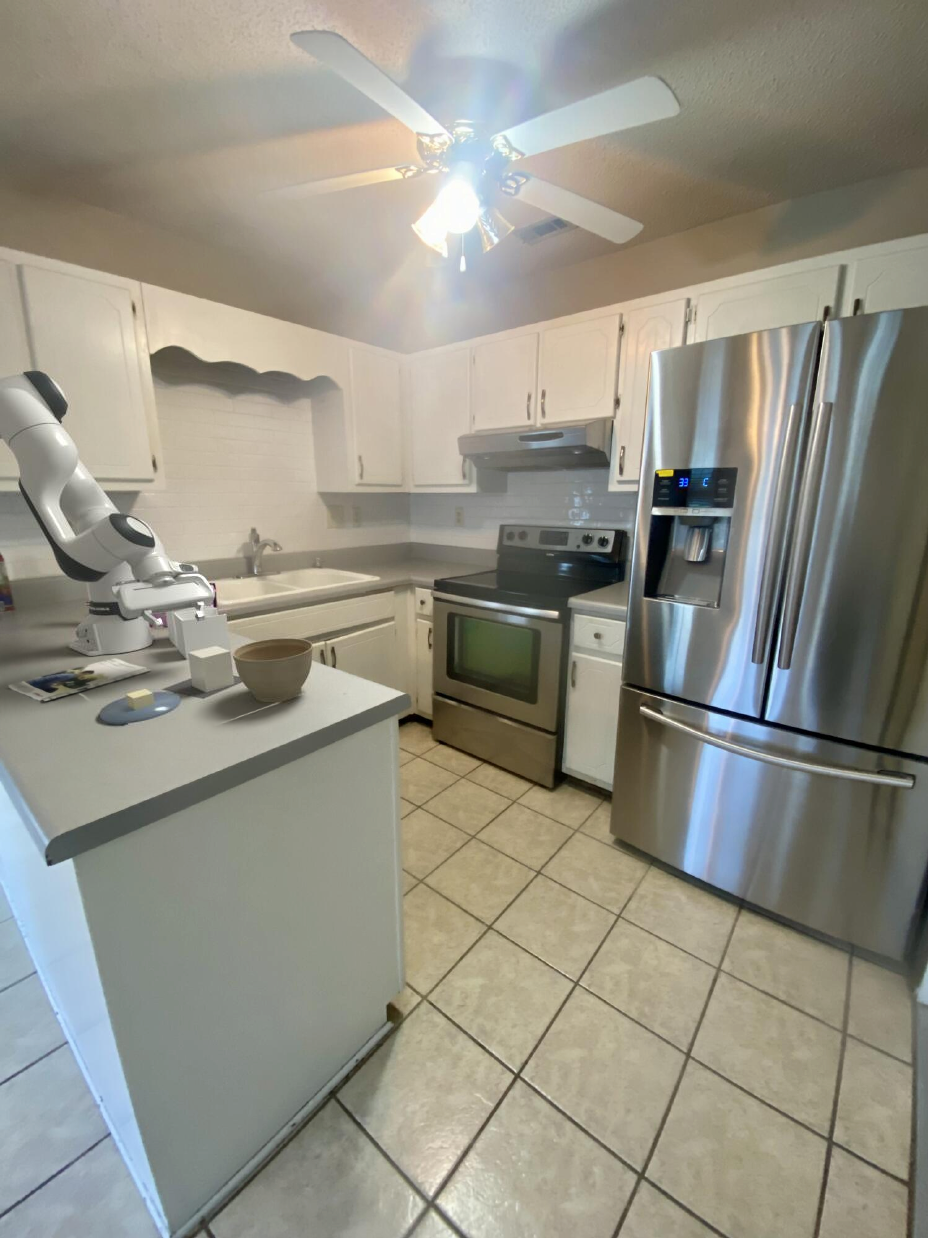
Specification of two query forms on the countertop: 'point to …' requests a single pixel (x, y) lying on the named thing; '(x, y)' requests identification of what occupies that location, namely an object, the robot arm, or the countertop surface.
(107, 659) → the countertop surface
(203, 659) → the white rectangular block
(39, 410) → the robot arm
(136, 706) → the butter
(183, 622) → the storage container
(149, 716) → the plate
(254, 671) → the planter bowl
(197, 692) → the mat
